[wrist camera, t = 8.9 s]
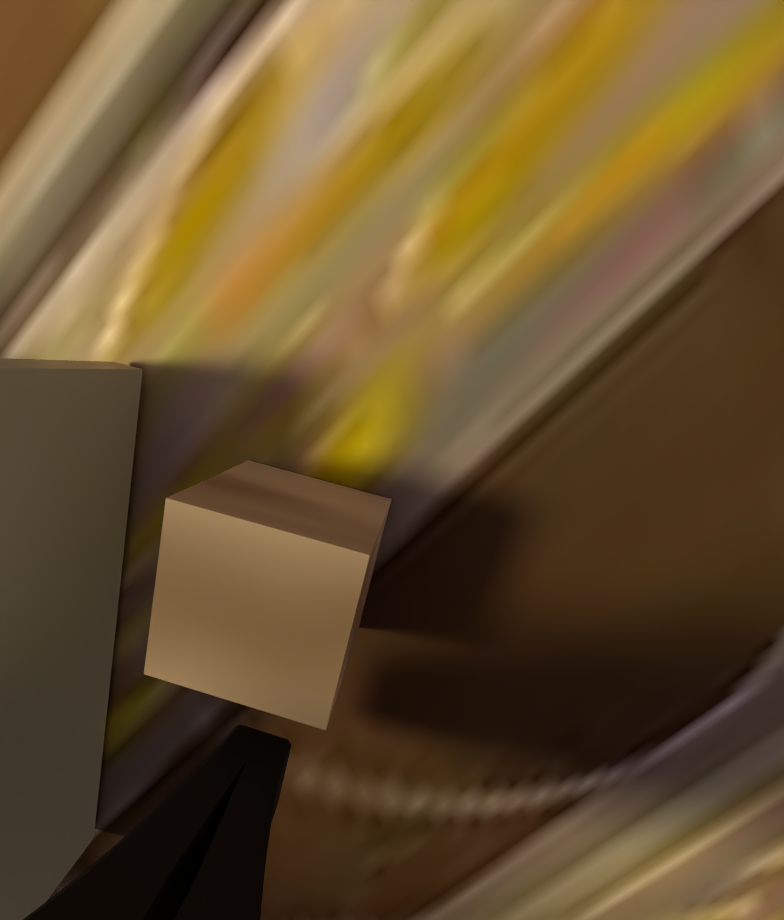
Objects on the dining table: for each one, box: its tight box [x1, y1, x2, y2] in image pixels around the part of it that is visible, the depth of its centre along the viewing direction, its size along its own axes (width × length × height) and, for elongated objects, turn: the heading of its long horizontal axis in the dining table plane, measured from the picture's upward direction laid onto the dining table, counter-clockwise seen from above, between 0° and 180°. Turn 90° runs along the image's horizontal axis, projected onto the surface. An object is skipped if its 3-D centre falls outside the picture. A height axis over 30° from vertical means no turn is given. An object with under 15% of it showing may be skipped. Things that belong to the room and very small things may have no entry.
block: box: [144, 460, 392, 730], centre depth 10 cm, size 4×4×4 cm
